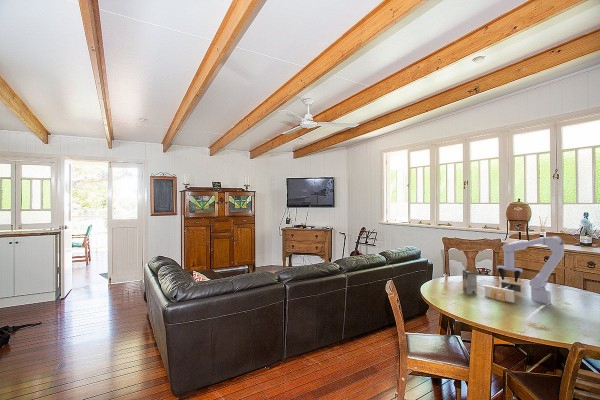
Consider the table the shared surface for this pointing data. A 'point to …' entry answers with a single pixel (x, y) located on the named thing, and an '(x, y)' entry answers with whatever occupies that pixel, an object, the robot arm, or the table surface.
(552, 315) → the table surface
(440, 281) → the table surface
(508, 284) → the shaft
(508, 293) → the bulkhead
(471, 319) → the table surface
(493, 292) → the block
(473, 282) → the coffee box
